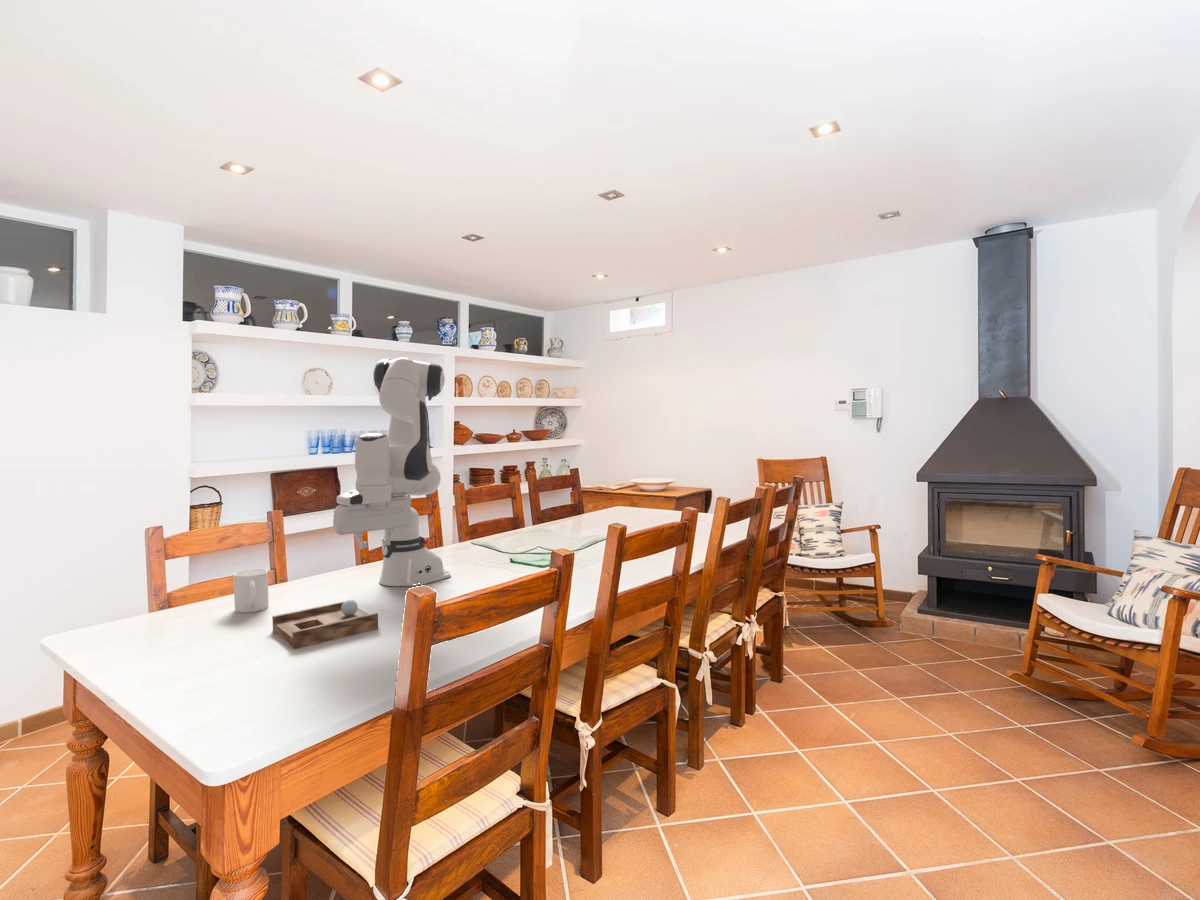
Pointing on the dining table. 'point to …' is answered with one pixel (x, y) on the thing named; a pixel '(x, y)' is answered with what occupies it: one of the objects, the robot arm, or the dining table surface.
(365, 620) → the wooden tray
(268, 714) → the dining table surface
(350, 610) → the ball
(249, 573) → the mug
